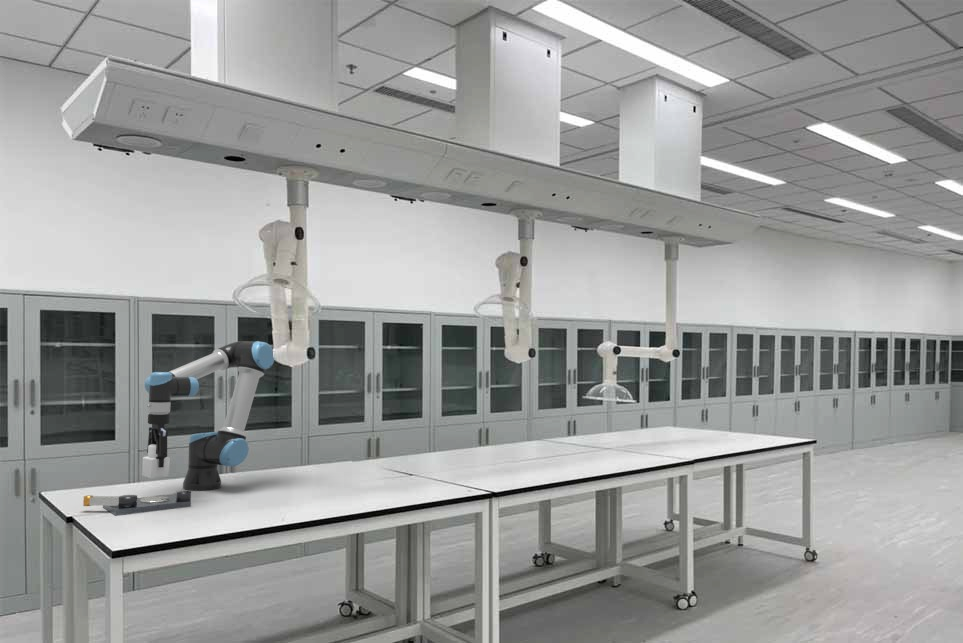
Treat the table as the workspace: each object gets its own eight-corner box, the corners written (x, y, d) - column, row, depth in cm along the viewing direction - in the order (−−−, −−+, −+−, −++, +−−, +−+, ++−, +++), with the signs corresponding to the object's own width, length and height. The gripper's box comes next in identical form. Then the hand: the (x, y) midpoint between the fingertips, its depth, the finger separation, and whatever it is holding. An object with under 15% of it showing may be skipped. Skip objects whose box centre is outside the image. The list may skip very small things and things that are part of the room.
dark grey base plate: (175, 498, 280) (175, 493, 280) (190, 506, 269) (190, 500, 269) (102, 507, 263) (103, 501, 263) (115, 515, 251) (115, 509, 251)
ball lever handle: (139, 503, 261) (139, 494, 261) (133, 507, 255) (133, 498, 255) (87, 503, 259) (87, 494, 259) (79, 507, 253) (80, 497, 253)
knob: (192, 501, 269) (193, 492, 269) (179, 502, 265) (179, 493, 265) (185, 497, 274) (185, 489, 274) (171, 499, 271) (172, 490, 271)
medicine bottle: (160, 474, 274) (161, 442, 274) (169, 476, 269) (171, 444, 270) (141, 476, 268) (143, 443, 269) (150, 478, 264) (152, 445, 264)
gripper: (139, 411, 275) (136, 471, 274) (157, 416, 260) (154, 479, 259) (160, 410, 280) (157, 469, 279) (179, 415, 265) (175, 477, 264)
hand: (155, 474), depth 269 cm, fingers closed on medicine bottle, 8 cm apart
